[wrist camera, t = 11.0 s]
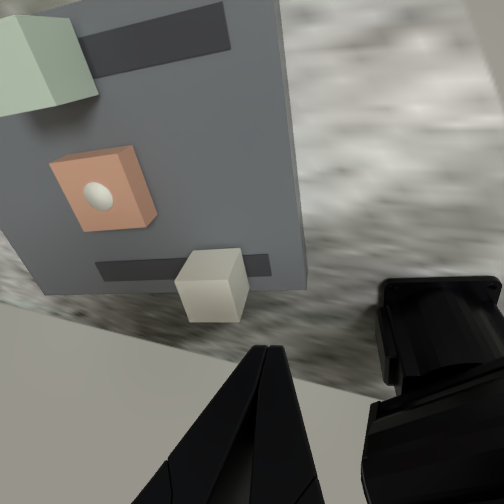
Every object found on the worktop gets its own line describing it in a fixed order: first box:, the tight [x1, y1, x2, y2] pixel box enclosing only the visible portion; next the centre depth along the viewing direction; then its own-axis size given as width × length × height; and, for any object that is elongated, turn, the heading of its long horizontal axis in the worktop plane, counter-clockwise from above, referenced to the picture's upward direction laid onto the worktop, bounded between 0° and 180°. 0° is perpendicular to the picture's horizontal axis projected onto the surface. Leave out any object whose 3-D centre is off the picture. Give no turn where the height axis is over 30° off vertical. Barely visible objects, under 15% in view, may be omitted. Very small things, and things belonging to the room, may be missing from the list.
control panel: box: [0, 0, 308, 295], centre depth 19 cm, size 20×16×2 cm
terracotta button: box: [49, 145, 158, 232], centre depth 18 cm, size 4×4×2 cm
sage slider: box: [0, 15, 99, 117], centre depth 14 cm, size 3×3×3 cm
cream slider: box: [174, 248, 250, 322], centre depth 19 cm, size 3×3×3 cm
